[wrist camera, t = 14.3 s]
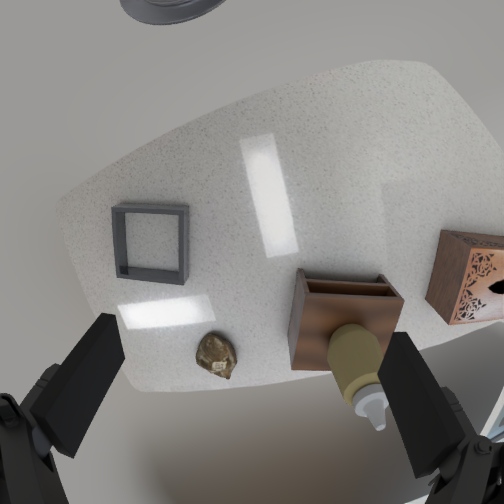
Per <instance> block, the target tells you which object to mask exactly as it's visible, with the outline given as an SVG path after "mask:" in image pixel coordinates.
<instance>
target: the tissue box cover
mask: <svg viewBox="0 0 504 504" xmlns="http://www.w3.org/2000/svg"><path fill="white" fill-rule="evenodd" d="M425 300H426V301H427V302H428V303H429V304H430V305H431V306H432V307H433V308H434V309H435V311H436V312H437V313H438V314H439V315H440V316H441V317H442V318H443V319H444V321H445V322H446V323H447V324H448V325H456V324H465V323H473V322H481V321H489V320H496V319H503V318H504V237H503V236H494V235H486V234H476V233H467V232H457V231H447V230H441V234H440V239H439V244H438V249H437V254H436V259H435V263H434V267H433V272H432V276H431V280H430V284H429V287H428V291H427V295H426V298H425Z"/></svg>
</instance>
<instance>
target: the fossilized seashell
mask: <svg viewBox="0 0 504 504" xmlns="http://www.w3.org/2000/svg"><path fill="white" fill-rule="evenodd" d="M196 362H197V364H198V365H199V366H201V367H202V368H204V369H206V370H208V371H209V372H210V373H214V374H216V375H218V376H220V377H224V378H226V379H230V376H231V372H232V370H233V368H234V367H235V365H236V364H237V358H236V354H235V350H234V348H233V347H232V346H231V344H229V343H228V342H227V341H226V340H224V339H222V338H220V337H217V336H216V335H214V334H211V335H207V336H205V337H204V338H203V340H202V341H201V343H200V345H199V347H198V350H197V353H196Z"/></svg>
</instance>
